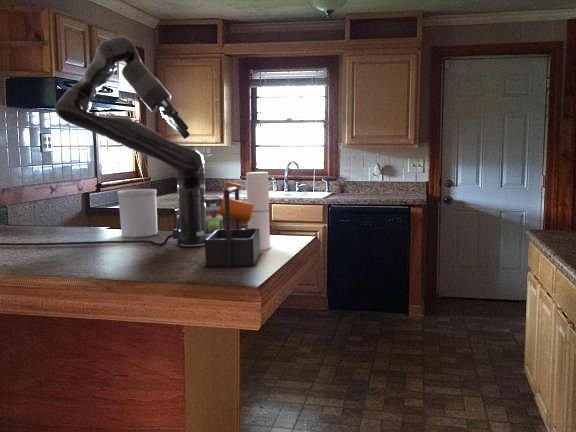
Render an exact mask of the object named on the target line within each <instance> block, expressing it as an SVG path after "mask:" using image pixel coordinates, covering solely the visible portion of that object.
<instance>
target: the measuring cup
mask: <svg viewBox="0 0 576 432" xmlns="http://www.w3.org/2000/svg"><path fill="white" fill-rule="evenodd" d="M230 187H236V188H239V190H241V189H242V187H243V185H242V184H239V183H235V182H231V181H226V182H225V186H224V190H226V189H228V188H230ZM253 206H254V204H252V203H247V201H242V200H239V201H238V200H235V199H233V198H230V219H235V220H236V219H239V220H240V221H245V222H247V223H248V222H250V220H251V216H252V212H253ZM220 215H221V216H222V217H225V194H224V193H223V195H222V204H221V208H220Z"/></svg>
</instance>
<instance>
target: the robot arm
mask: <svg viewBox="0 0 576 432" xmlns="http://www.w3.org/2000/svg"><path fill="white" fill-rule="evenodd" d="M121 62H124V63H125V64H126V65H125V66H124V67H123V68H122V69H121V70H122V71H121V75H122V76H123V78H124V79H125V80H126V82H127V83H128V84H129V85H130V86H131V88H132V89H133V90H134V92H135V94H136V95H137V96H138V97H139V98H140V100H141V101H142V103H144V104H145V106H146V107H147V108H148V110H150V112H152V113H153V112H154V113H155V112H157V111H160V113H161V116H162V118H164V119H165V120H166V122H167V123H168V124H169V125H170V126H171V127H172V128H173V130H175V131H177V132H178V134H180V136H181V137H182V138H183V139H184V140H186V139H187V138H188V137H190V135H191V134H190V132H189V131H188V130H189V126H188V125H187V124H186V123H185V121H184V120H183V119H182V117H181V114H180V113H179V111H178V110H177V109H176V108H175V107H174V105H173V104H172V103H170V101H171V98H172V95H171V94H170V92H169V91H168V89H166V88H165V86H164V85H163V84H162V83H161V81H160V80H159V79H158V78H157V77H156V76H155V75H154V74H152V72H151V71H150V69H148V67H147V66H146V65H145V64H144V63H143V61H142V59H141V57H140V55H139V53H138V50H137V48H136V46H135V44H134V42H132V40H131V39H130V38H128V37H127V36H125V35H117V36H115V37H111V38H109V39H105V40H103V41H102V42H101V43H100V44H99V45H97V48H96V51H95V54H94V58H93V60H92V61H91V62H90V63H89V65H88V66H87V68H86V70H85V71H84V73H83V75H82V77H81V79H80V80H78V81H77V82H76V83H75V84H74V85H72V86H71V87H70V88H68V89H67V90H66V91H65V92H64V93H63V94H62V96H61V97H60V98H59V100H58V101H57V103H56V104H55V105H54V111H55V114H56V115H57V116H58V117H59V118H60V119H61V120H62V121H65V122H66V123H68V124H71V125H73V126H76V127H78V128H82V129H84V130H87V131H89V132H92V133H95V134H98V135H100V136H102V137H104V138H107V139H109V140H111V141H113V142H115V143H117V144H119V145H121V146H123V147H125V148H127V149H129V150H131V151H134V152H136V153H139V154H142V155H144V156H146V157H150V158H152V159H155V160H158V161H160V162H162V163H164V164H166V165H167V166H169V167H171V168H172V169H174V170H175V171H177V206H178V217H177V218H176V220H175V223H176V228H174V229H172V233H171V234H169V235H168V236H166V238H165V239H164V241H163V242H161V243H159V242H156V241H154V240H149V239H148V240H146V239H141V240H140V239H137V240H136V239H135V240H134V239H133V240H97V241H96V240H92V241H89V240H88V241H64V242H63V241H61V242H59V241H58V242H0V246H64V245H65V246H67V245H68V246H69V245H71V246H72V245H97V244H98V245H99V244H143V243H145V244H152V245H155V246H165V245H166V244H167V243H168V242H169V240H170V239H171V238H172V239H173V240H176V242H177V243H176V244H177V247H183V248H197V247H199V248H200V247H205V239H206V238H207V237H208V236H207V234H206V207H205V197H206V176H205V160H204V156H203V154H202V153H201V152H200V151H199V150H197V149H196V148H195V149H194V148H190V147H187V146H184V145H181V144H179V143H177V142H173V141H171V140H169V139H167V138H165V137H164V136H162V135H161V134H159V133H158V132H156V131H155V130H153V129H152V128H150V127H149V126H147V125H144V124H143V123H140V122H138V121H136V120H134V119H133V118H130V117H123V116H101V115H97V114H95V113H92V112H90V109H91V107H92V104H93V101H94V99H95V97H96V94H97V93H98V91H99V90H100V89H101V88H102V87H103V86H105V85H106V83H108V81H109V80H110V79H111V78H112V76H113V75H114V74H115V72H116V70H117V63H121Z"/></svg>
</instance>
